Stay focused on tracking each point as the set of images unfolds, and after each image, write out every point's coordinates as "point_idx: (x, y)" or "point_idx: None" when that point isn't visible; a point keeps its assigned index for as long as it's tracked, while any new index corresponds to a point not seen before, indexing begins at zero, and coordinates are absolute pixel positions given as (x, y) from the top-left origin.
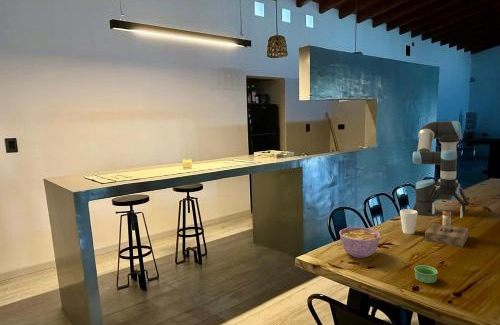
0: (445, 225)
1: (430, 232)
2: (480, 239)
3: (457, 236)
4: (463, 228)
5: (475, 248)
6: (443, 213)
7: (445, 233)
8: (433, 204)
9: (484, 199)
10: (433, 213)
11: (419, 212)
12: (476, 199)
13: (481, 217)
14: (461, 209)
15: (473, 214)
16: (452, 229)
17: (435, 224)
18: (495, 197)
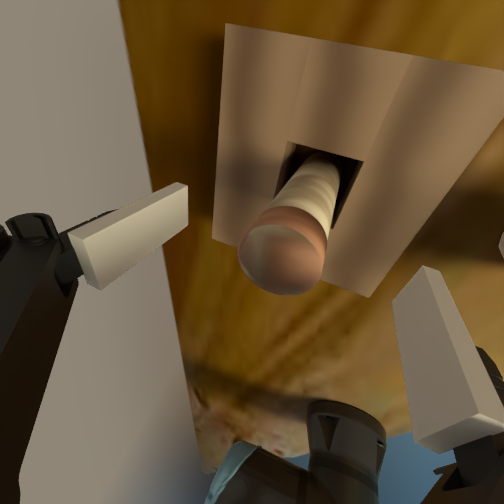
0: (317, 176)
1: (470, 79)
2: (191, 202)
3: (258, 56)
4: (228, 235)
5: (196, 54)
6: (319, 235)
7: (333, 104)
8: (475, 385)
9: (208, 431)
10: (426, 271)
11: (368, 423)
12: (220, 435)
13: (206, 366)
14: (112, 215)
15: (222, 383)
16: None
17: (356, 280)
18: (195, 431)
